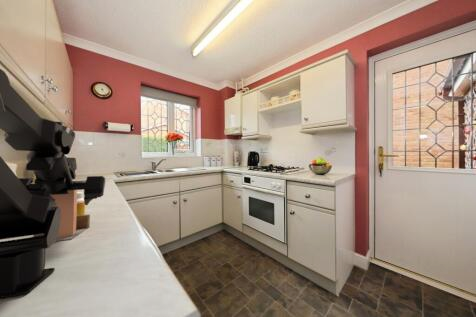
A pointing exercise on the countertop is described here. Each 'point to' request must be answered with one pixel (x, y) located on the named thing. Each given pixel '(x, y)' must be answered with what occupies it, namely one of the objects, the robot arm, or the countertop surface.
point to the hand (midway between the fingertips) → (66, 205)
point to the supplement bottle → (80, 204)
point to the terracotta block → (67, 212)
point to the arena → (81, 226)
